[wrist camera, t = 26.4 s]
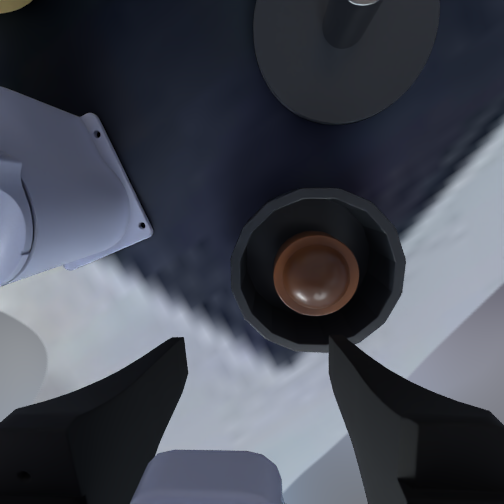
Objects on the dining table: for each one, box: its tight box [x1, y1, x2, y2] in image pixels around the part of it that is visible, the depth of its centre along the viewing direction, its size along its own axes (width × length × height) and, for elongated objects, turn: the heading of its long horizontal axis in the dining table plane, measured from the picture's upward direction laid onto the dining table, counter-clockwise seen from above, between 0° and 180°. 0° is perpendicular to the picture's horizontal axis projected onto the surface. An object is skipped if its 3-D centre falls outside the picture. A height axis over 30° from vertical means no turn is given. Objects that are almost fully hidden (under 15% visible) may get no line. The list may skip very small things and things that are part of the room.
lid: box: [253, 0, 440, 125], centre depth 15 cm, size 11×11×5 cm
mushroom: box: [273, 231, 359, 316], centre depth 17 cm, size 5×5×6 cm
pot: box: [231, 188, 406, 353], centre depth 18 cm, size 10×10×5 cm
